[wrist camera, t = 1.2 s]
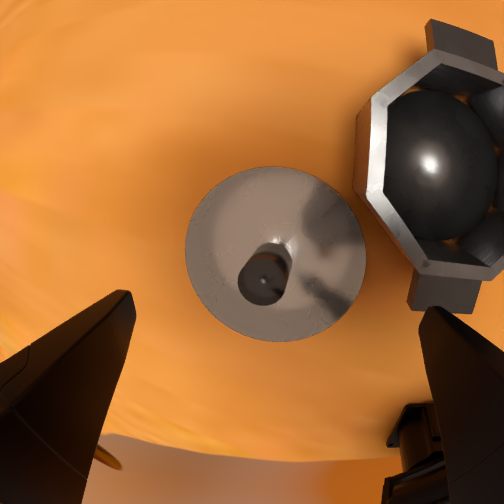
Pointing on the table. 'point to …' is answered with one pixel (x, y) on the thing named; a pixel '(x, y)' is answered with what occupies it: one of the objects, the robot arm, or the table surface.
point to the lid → (275, 254)
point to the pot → (439, 167)
